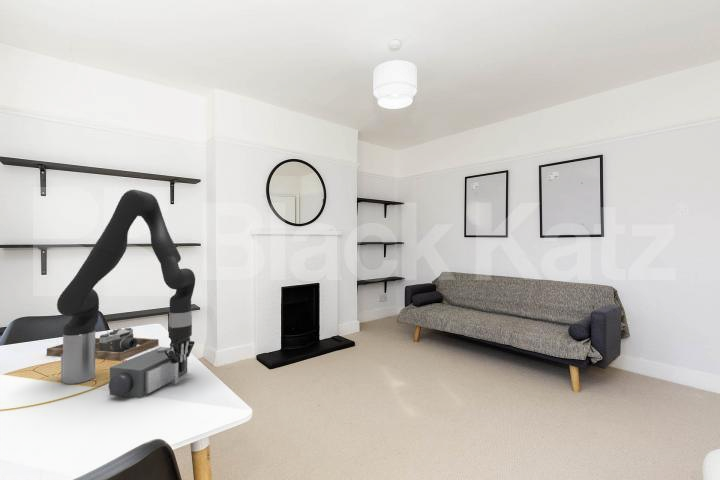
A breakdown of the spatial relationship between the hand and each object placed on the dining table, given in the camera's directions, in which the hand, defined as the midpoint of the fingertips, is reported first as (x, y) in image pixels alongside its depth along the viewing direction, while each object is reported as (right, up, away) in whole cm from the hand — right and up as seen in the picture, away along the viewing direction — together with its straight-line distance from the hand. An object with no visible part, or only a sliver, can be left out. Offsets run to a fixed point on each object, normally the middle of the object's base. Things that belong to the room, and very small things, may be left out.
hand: (180, 371), depth 126 cm
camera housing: (-10, -3, -3) cm, 11 cm away
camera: (-43, -4, +32) cm, 54 cm away
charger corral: (-63, -3, +34) cm, 72 cm away
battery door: (-2, -3, -8) cm, 8 cm away
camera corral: (-41, -3, +32) cm, 53 cm away
